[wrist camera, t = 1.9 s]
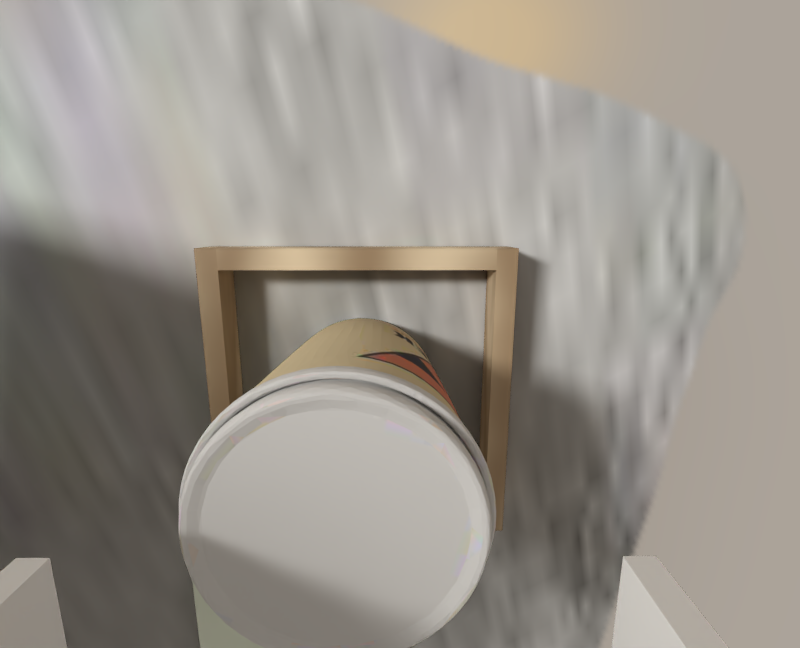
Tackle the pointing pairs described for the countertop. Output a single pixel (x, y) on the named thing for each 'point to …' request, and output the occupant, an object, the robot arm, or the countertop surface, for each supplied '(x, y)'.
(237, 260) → the oak frame
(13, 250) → the countertop surface
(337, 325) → the coffee cup
